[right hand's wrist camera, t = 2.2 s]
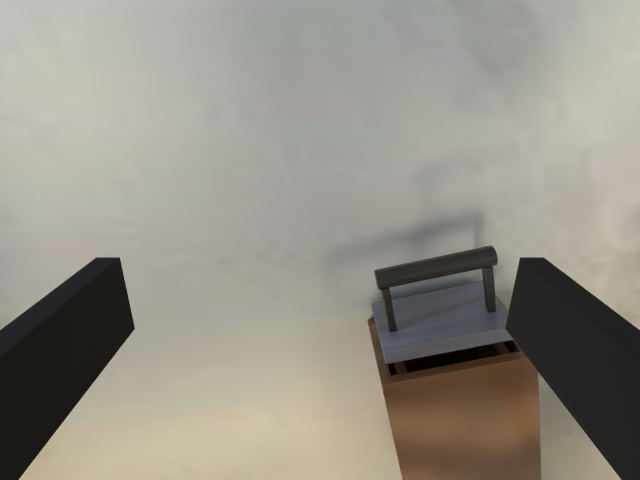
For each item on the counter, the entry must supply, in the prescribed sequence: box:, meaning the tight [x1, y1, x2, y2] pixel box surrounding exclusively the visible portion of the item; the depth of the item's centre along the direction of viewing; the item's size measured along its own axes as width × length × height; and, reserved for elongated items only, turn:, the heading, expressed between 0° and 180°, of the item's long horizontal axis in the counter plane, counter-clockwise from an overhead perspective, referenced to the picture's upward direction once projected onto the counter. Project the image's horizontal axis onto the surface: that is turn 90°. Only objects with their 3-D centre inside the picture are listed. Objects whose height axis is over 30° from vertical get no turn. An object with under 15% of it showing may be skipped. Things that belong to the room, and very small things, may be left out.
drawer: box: [371, 246, 514, 375], centre depth 33 cm, size 22×10×7 cm, turn 13°
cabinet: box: [368, 319, 541, 480], centre depth 34 cm, size 18×11×8 cm, turn 13°
